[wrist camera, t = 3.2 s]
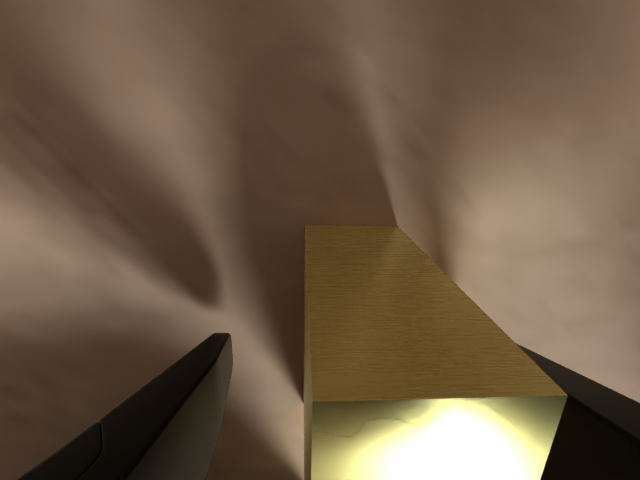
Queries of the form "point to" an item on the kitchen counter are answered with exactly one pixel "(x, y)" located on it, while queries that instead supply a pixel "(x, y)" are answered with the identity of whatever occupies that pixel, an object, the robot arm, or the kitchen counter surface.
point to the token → (412, 370)
